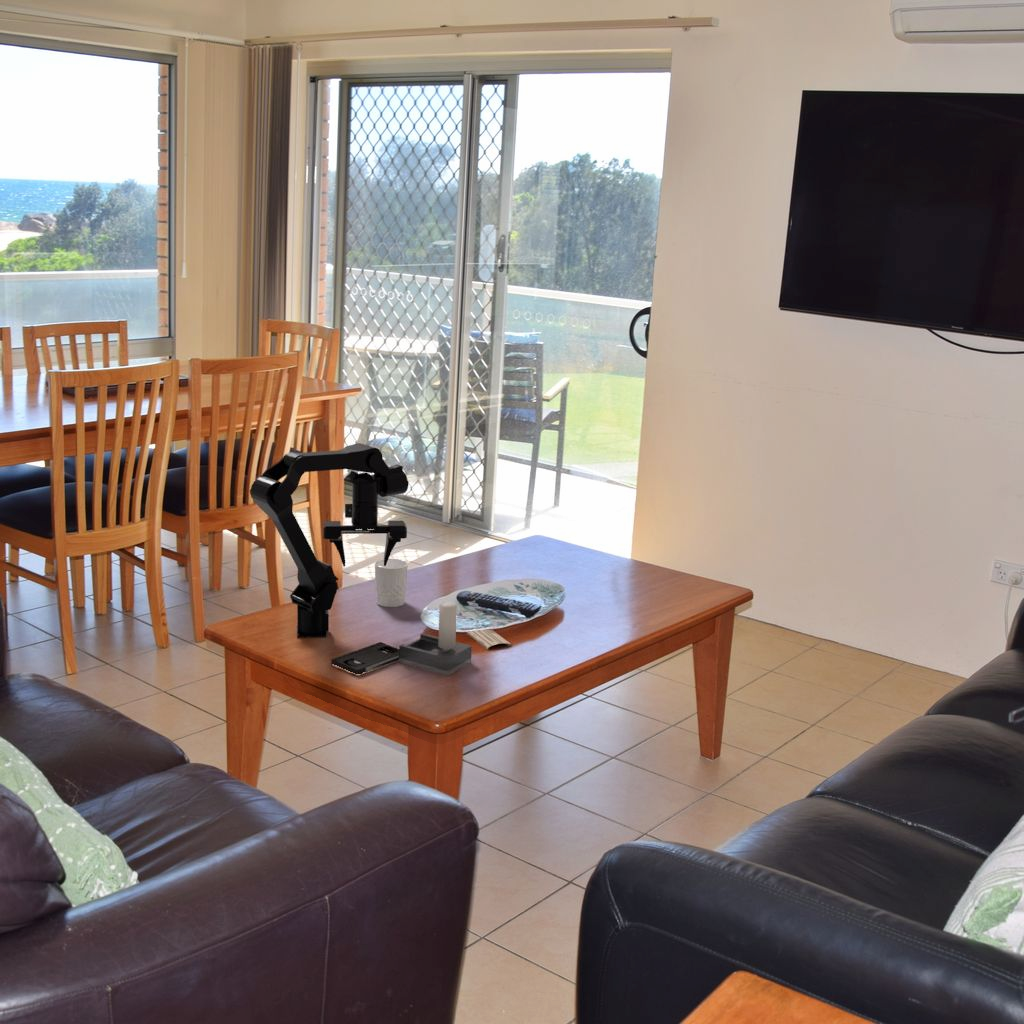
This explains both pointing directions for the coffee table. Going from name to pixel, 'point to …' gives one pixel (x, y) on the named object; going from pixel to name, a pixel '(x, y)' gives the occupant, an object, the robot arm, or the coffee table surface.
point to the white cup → (390, 582)
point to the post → (447, 625)
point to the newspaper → (487, 638)
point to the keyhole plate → (435, 655)
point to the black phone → (368, 658)
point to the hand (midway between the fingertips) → (364, 565)
